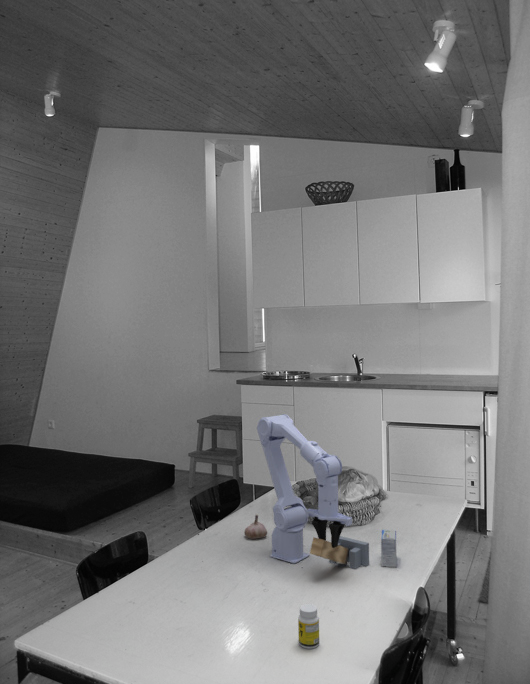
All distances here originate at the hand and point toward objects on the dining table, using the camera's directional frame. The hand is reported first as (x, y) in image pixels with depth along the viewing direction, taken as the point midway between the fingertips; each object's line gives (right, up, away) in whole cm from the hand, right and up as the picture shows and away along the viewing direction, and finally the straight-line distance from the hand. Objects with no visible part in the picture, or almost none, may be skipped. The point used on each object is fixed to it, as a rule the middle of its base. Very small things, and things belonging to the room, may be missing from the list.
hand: (328, 545), depth 181 cm
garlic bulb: (-21, -8, +31) cm, 39 cm away
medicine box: (+19, -8, +8) cm, 22 cm away
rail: (0, -4, 0) cm, 4 cm away
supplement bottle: (-8, -10, -38) cm, 40 cm away
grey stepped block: (+7, -8, +9) cm, 14 cm away
